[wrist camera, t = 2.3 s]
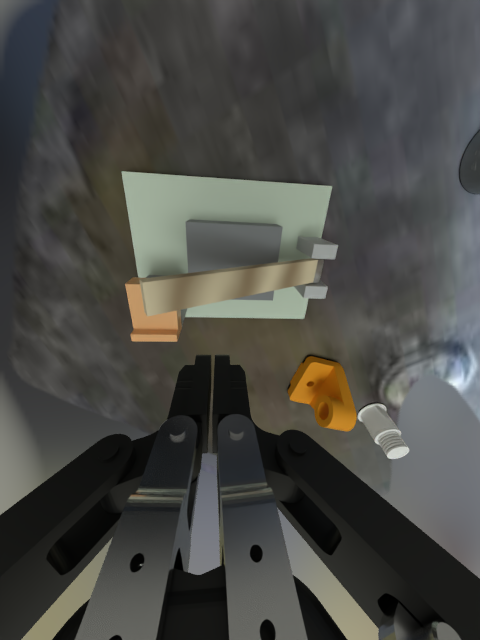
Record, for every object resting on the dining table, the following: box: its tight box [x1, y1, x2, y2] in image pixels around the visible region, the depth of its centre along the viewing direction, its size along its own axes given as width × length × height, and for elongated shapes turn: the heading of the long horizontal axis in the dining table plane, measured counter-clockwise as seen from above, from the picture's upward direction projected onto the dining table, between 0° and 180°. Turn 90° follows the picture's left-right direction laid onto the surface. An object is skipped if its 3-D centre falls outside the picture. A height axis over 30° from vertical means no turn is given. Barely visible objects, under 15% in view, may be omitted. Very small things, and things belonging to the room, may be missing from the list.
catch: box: [125, 277, 182, 342], centre depth 28 cm, size 6×7×4 cm
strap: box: [139, 258, 324, 316], centre depth 25 cm, size 23×3×2 cm, turn 86°
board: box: [122, 171, 338, 325], centre depth 32 cm, size 27×20×8 cm
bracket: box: [288, 356, 356, 431], centre depth 43 cm, size 11×7×12 cm, turn 161°
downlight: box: [357, 403, 409, 459], centre depth 52 cm, size 8×7×10 cm
